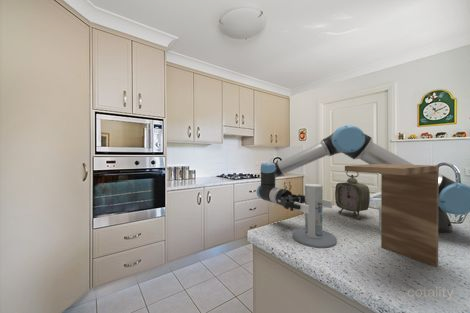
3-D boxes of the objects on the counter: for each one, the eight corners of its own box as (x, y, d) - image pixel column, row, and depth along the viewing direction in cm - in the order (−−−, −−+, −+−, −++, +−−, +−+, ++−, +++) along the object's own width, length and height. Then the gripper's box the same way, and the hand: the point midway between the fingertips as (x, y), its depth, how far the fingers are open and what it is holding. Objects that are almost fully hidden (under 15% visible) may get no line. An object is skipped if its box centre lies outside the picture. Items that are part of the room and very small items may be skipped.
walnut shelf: (383, 246, 70) (383, 163, 70) (438, 265, 58) (438, 165, 58) (344, 265, 58) (344, 165, 58) (403, 294, 46) (403, 168, 46)
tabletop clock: (335, 213, 110) (335, 168, 110) (346, 211, 114) (346, 168, 114) (360, 221, 97) (360, 170, 97) (371, 218, 100) (372, 170, 100)
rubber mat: (331, 232, 82) (331, 230, 82) (341, 250, 67) (341, 247, 67) (292, 228, 87) (292, 226, 87) (293, 244, 71) (293, 242, 71)
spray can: (308, 231, 81) (307, 183, 81) (324, 235, 77) (324, 184, 77) (302, 236, 76) (302, 185, 76) (320, 240, 72) (319, 186, 72)
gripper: (299, 201, 99) (340, 211, 80) (260, 208, 86) (297, 222, 68) (299, 186, 99) (340, 193, 80) (260, 191, 86) (297, 200, 68)
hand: (320, 206), depth 74 cm, fingers open, 13 cm apart
